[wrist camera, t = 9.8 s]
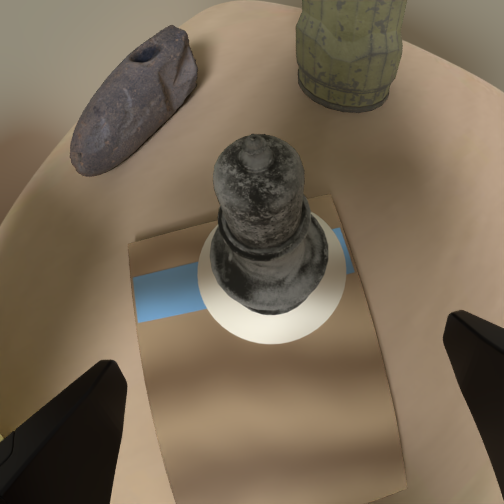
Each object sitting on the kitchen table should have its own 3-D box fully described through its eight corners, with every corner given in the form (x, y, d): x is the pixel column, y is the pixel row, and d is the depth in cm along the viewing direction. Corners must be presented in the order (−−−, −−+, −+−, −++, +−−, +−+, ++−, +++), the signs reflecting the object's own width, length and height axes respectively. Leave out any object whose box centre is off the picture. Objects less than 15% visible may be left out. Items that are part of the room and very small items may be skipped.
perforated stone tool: (111, 202, 23) (65, 151, 17) (77, 178, 25) (34, 132, 18) (221, 82, 27) (207, 22, 20) (181, 70, 28) (163, 17, 22)
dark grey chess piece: (326, 233, 19) (366, 80, 8) (313, 328, 18) (363, 262, 6) (234, 219, 20) (183, 67, 9) (212, 310, 18) (111, 224, 7)
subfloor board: (402, 483, 14) (408, 488, 13) (190, 526, 15) (185, 533, 14) (326, 194, 22) (328, 186, 21) (133, 242, 22) (126, 236, 21)
